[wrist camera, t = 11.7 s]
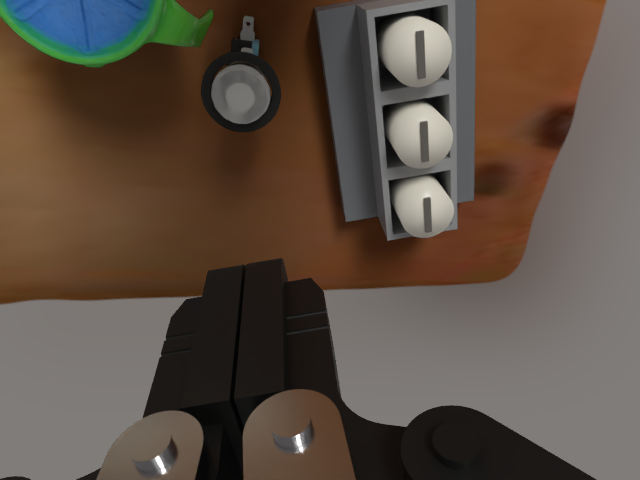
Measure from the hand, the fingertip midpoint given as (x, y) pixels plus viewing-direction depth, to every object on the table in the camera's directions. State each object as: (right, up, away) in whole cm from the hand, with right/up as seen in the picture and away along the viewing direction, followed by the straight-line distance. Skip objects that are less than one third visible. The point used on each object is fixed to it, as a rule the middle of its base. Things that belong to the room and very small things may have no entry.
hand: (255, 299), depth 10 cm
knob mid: (+8, +11, +31) cm, 34 cm away
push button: (-5, +16, +31) cm, 35 cm away
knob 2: (+9, +6, +34) cm, 36 cm away
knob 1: (+7, +16, +28) cm, 33 cm away
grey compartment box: (+8, +13, +34) cm, 37 cm away
